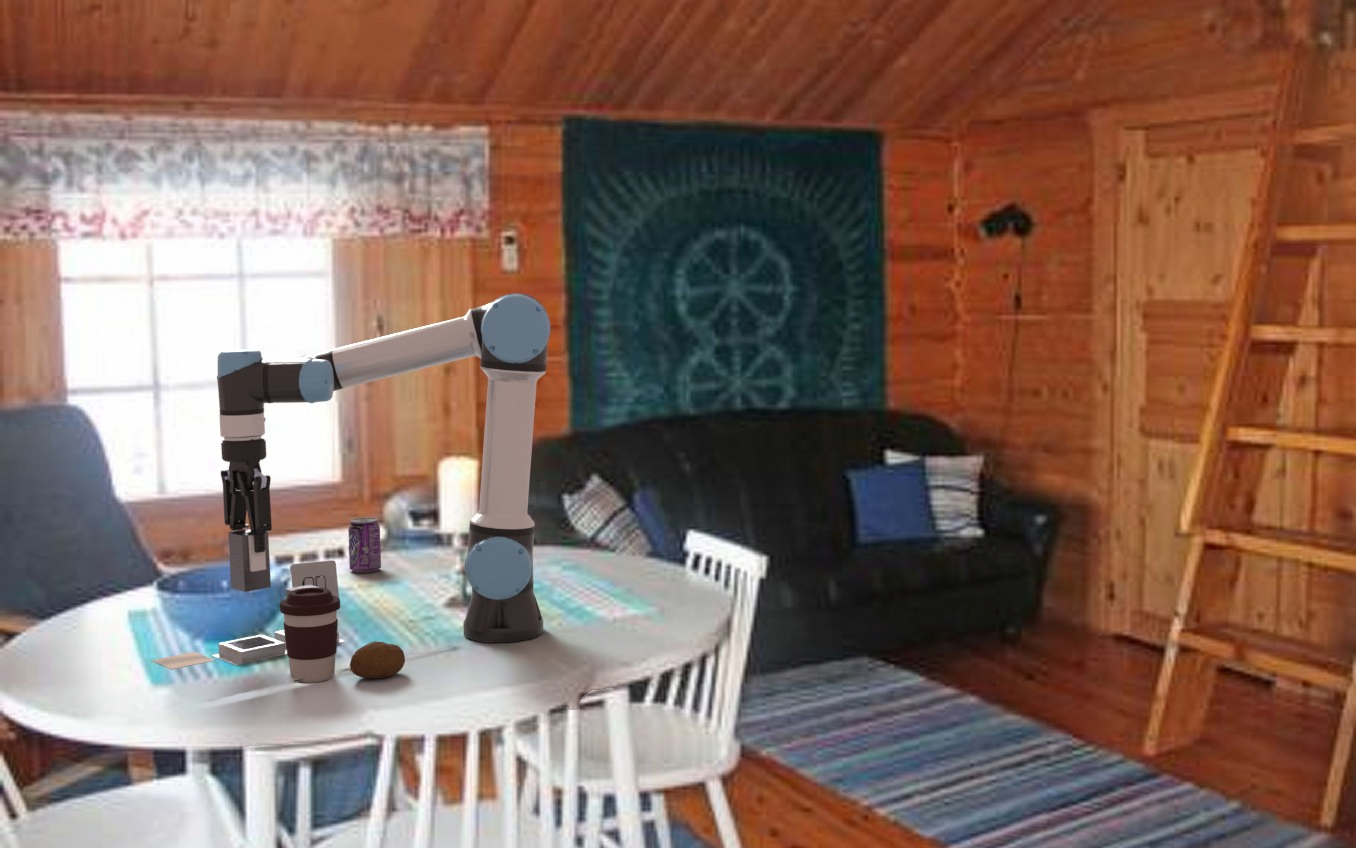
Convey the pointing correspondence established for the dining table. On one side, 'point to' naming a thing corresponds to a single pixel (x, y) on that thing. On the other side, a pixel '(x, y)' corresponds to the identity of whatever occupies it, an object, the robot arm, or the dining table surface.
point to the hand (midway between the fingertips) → (250, 567)
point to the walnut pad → (183, 660)
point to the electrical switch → (315, 575)
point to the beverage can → (364, 545)
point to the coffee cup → (311, 633)
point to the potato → (377, 660)
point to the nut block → (246, 563)
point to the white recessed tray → (254, 648)
